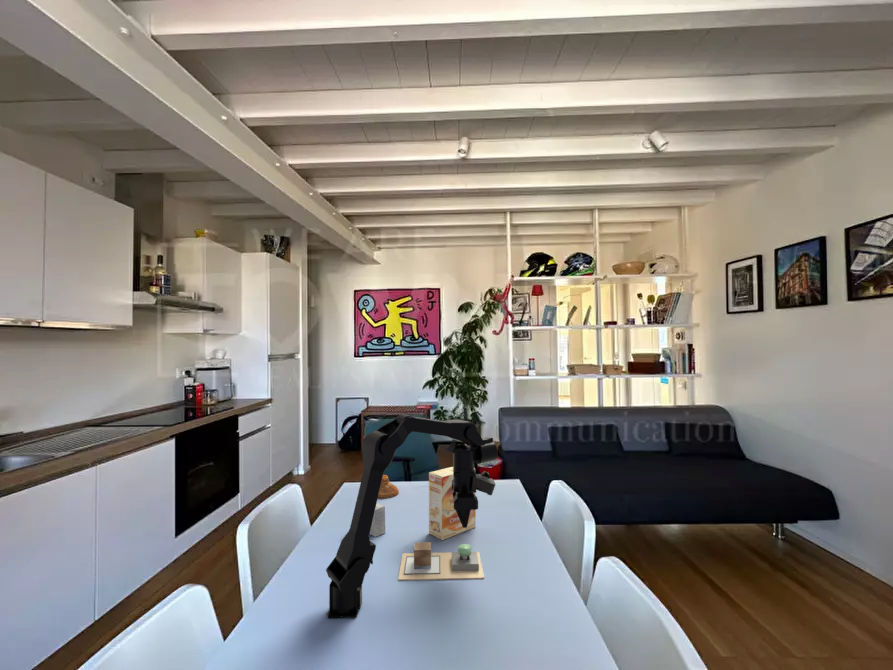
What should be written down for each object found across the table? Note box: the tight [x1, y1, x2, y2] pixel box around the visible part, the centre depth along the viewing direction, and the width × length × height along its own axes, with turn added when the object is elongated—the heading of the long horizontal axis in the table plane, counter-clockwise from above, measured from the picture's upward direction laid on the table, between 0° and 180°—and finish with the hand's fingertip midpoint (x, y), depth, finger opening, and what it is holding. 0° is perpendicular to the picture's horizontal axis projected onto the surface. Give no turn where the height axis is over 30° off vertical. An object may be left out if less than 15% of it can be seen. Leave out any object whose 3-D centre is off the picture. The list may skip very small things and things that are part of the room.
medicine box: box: [369, 502, 386, 538], centre depth 140 cm, size 8×4×9 cm, turn 47°
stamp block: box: [413, 541, 432, 569], centre depth 118 cm, size 4×4×5 cm
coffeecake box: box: [428, 466, 477, 541], centre depth 141 cm, size 15×7×20 cm, turn 131°
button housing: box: [451, 551, 479, 571], centre depth 118 cm, size 7×7×2 cm
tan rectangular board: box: [397, 551, 485, 581], centre depth 118 cm, size 22×14×1 cm, turn 91°
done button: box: [457, 543, 472, 560], centre depth 118 cm, size 4×4×4 cm
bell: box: [378, 474, 399, 499], centre depth 177 cm, size 12×12×7 cm
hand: (464, 524), depth 118 cm, fingers open, 4 cm apart
